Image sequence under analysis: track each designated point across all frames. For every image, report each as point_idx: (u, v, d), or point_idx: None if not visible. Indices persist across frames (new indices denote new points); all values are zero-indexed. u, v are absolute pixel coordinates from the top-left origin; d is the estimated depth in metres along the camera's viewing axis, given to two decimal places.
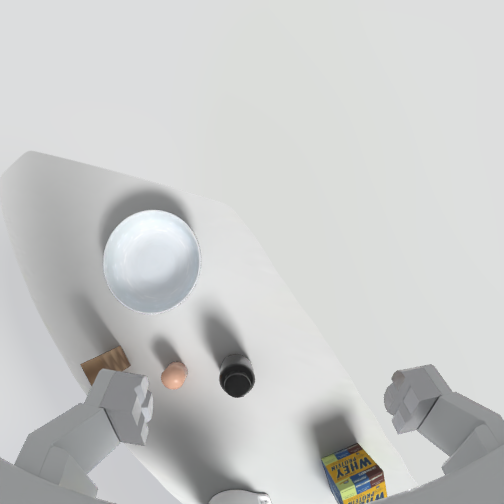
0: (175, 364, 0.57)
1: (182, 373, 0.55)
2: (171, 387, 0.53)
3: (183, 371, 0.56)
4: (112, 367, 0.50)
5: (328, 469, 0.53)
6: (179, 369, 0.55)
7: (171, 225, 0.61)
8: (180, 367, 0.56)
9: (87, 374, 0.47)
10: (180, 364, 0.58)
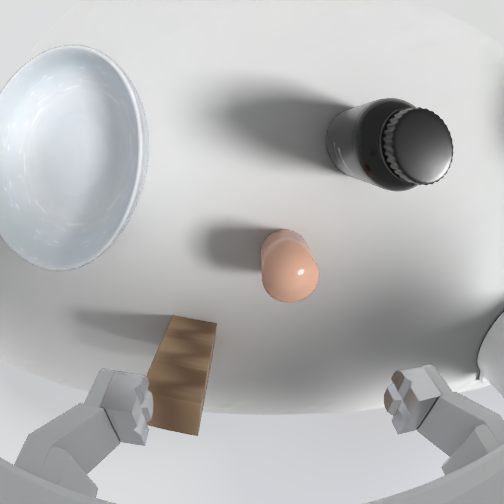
0: (267, 246, 0.26)
1: (295, 247, 0.24)
2: (306, 292, 0.24)
3: (292, 241, 0.25)
4: (185, 374, 0.24)
5: None
6: (282, 246, 0.24)
7: (36, 93, 0.21)
8: (280, 242, 0.25)
9: (169, 427, 0.22)
10: (274, 236, 0.27)
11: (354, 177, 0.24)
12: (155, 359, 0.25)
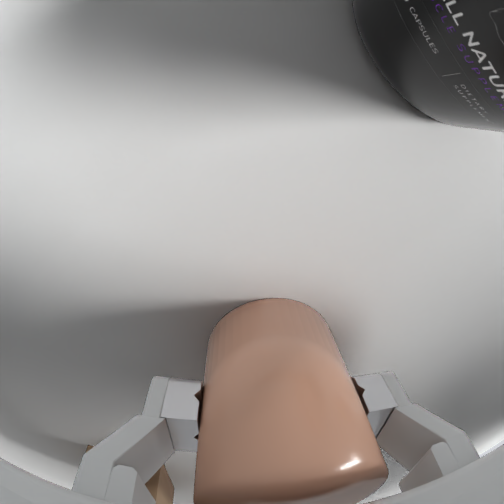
0: (211, 378, 0.08)
1: (303, 428, 0.05)
2: None
3: (291, 379, 0.06)
4: None
5: None
6: (252, 425, 0.05)
7: None
8: (245, 383, 0.06)
9: None
10: (233, 339, 0.08)
11: (478, 116, 0.05)
12: None
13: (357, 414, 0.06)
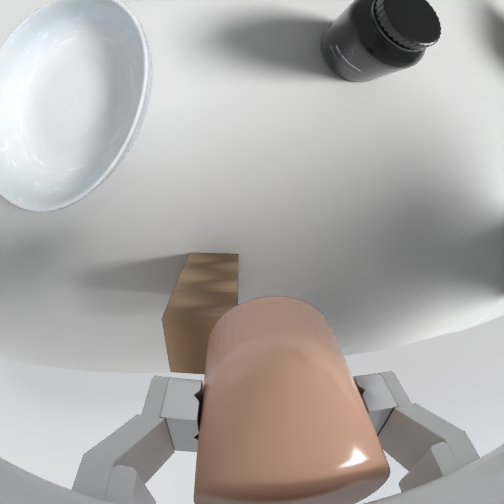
0: (212, 376, 0.07)
1: (305, 426, 0.05)
2: None
3: (292, 377, 0.06)
4: (213, 297, 0.22)
5: None
6: (253, 422, 0.05)
7: (30, 53, 0.18)
8: (246, 381, 0.06)
9: (200, 369, 0.20)
10: (233, 336, 0.08)
11: (355, 75, 0.21)
12: (176, 288, 0.23)
13: (359, 412, 0.06)
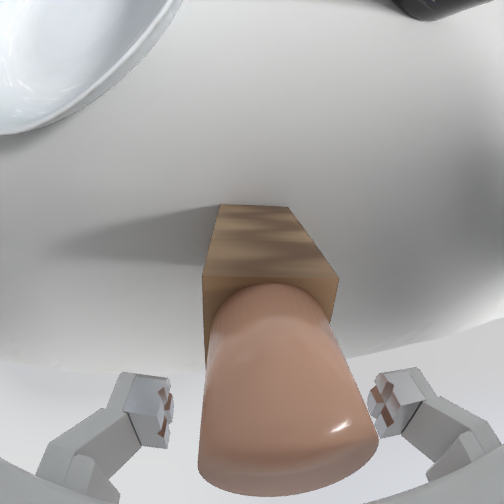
0: (215, 352, 0.08)
1: (298, 389, 0.06)
2: (337, 476, 0.06)
3: (287, 349, 0.07)
4: (280, 247, 0.13)
5: None
6: (252, 387, 0.06)
7: None
8: (245, 353, 0.07)
9: None
10: (234, 317, 0.09)
11: (426, 7, 0.13)
12: (215, 237, 0.14)
13: (347, 382, 0.07)
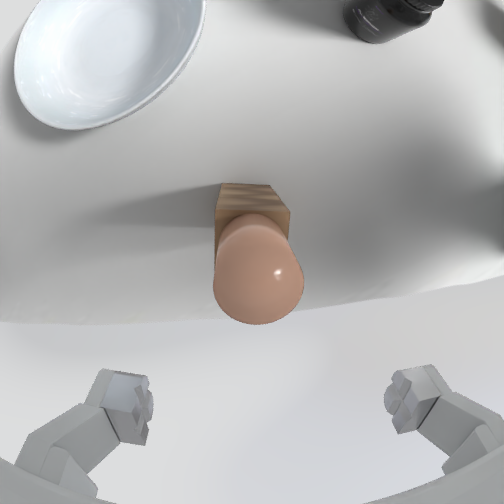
0: (222, 241, 0.17)
1: (259, 238, 0.15)
2: (287, 305, 0.15)
3: (256, 230, 0.16)
4: (259, 201, 0.22)
5: None
6: (239, 240, 0.15)
7: None
8: (237, 233, 0.16)
9: None
10: (232, 226, 0.18)
11: (373, 35, 0.22)
12: (220, 197, 0.23)
13: (285, 244, 0.16)
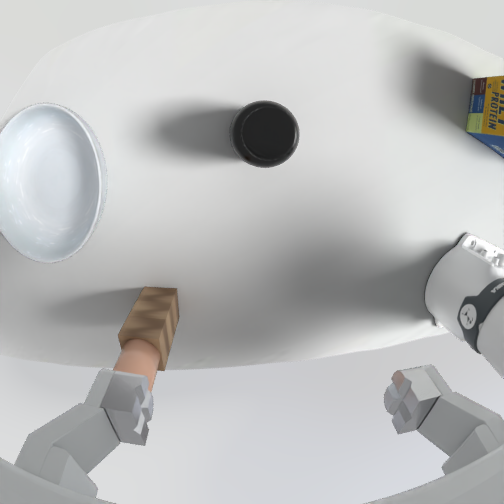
0: (118, 359, 0.28)
1: (125, 369, 0.26)
2: None
3: (128, 360, 0.27)
4: (150, 322, 0.33)
5: (489, 132, 0.29)
6: (118, 367, 0.26)
7: (22, 137, 0.29)
8: (120, 359, 0.27)
9: None
10: (124, 349, 0.29)
11: None
12: (129, 315, 0.34)
13: (140, 370, 0.26)
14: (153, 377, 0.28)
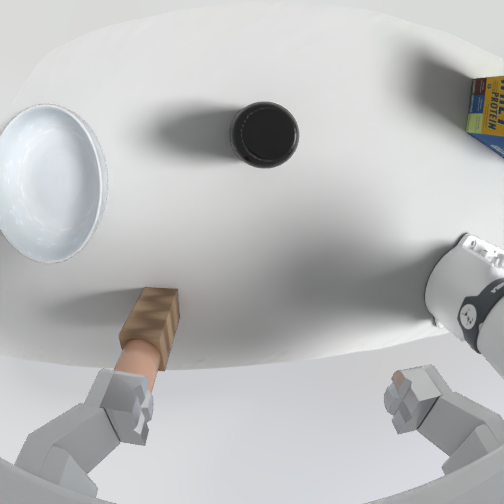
0: (118, 359, 0.28)
1: (126, 369, 0.26)
2: None
3: (129, 360, 0.27)
4: (150, 322, 0.33)
5: (489, 132, 0.29)
6: (118, 367, 0.26)
7: (23, 138, 0.29)
8: (121, 360, 0.27)
9: None
10: (124, 349, 0.29)
11: None
12: (130, 315, 0.34)
13: (141, 370, 0.26)
14: (153, 377, 0.28)
